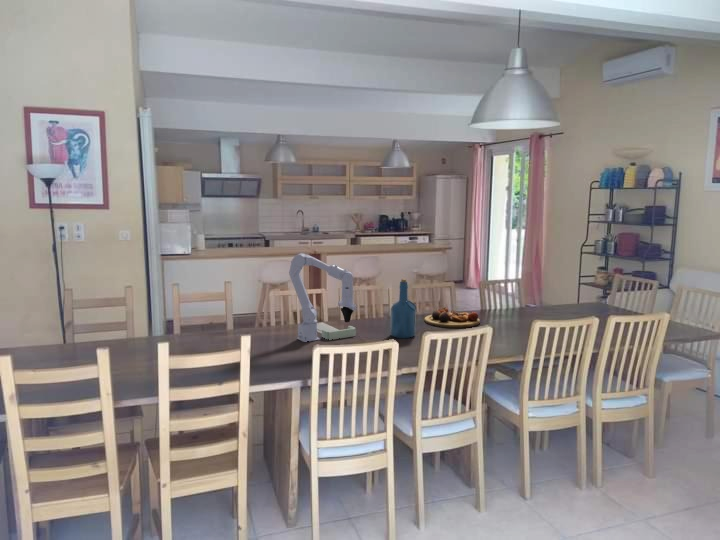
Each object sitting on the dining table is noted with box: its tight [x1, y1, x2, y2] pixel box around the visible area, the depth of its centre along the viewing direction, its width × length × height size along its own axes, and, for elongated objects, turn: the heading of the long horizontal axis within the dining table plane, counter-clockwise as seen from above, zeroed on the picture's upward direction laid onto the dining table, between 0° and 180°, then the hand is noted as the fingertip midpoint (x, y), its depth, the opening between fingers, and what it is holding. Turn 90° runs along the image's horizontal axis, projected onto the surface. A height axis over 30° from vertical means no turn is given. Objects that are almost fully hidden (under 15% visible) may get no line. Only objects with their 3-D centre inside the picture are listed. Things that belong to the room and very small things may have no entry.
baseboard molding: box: [317, 320, 339, 335], centre depth 290 cm, size 31×3×12 cm
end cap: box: [321, 325, 357, 341], centre depth 279 cm, size 17×7×4 cm, turn 122°
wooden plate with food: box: [424, 307, 481, 329], centre depth 312 cm, size 32×32×8 cm
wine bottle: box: [389, 278, 417, 339], centre depth 279 cm, size 14×13×30 cm
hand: (347, 321), depth 271 cm, fingers closed
